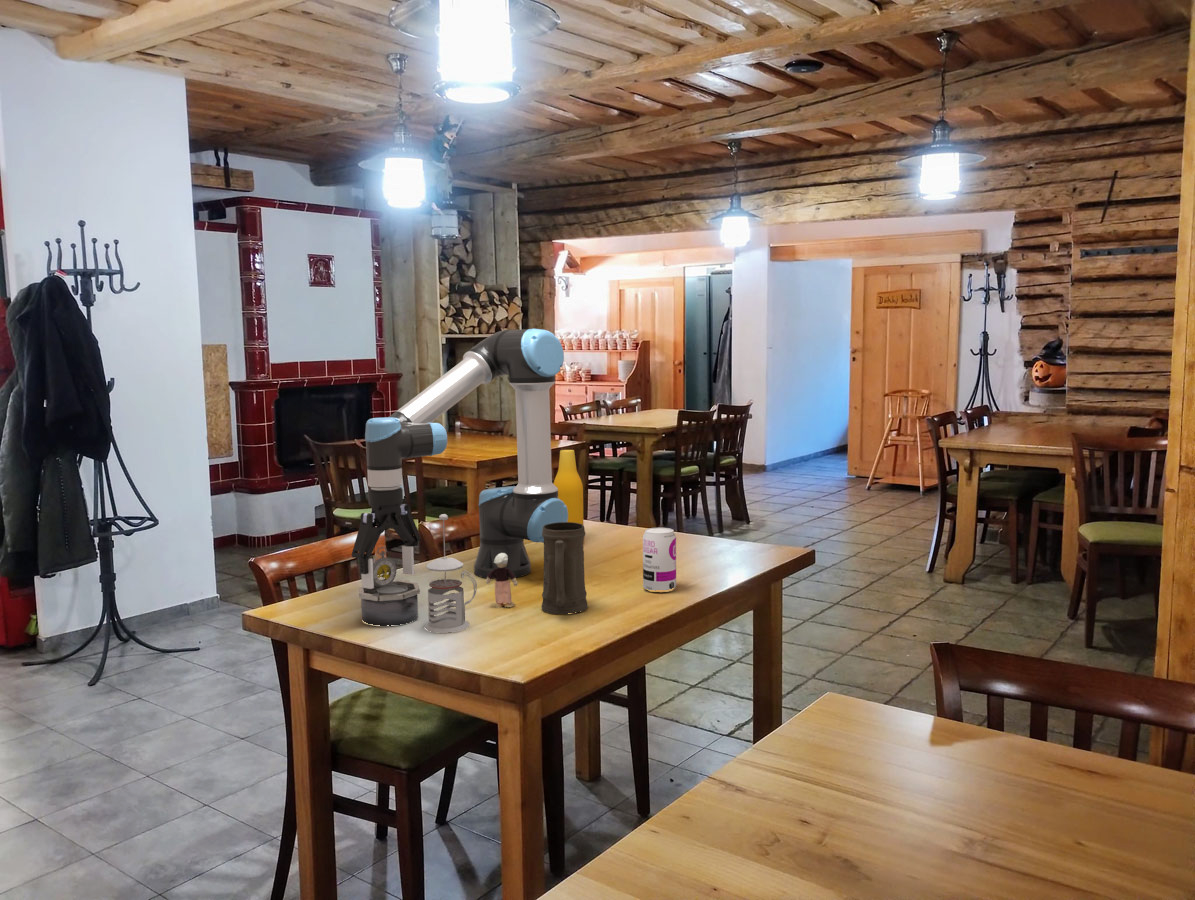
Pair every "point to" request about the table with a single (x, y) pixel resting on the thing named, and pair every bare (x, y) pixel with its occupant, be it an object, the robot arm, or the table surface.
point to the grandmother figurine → (502, 581)
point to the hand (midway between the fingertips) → (388, 580)
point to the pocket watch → (386, 576)
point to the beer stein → (564, 568)
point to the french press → (447, 596)
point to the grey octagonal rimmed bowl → (390, 605)
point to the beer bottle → (570, 486)
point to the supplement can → (659, 559)
